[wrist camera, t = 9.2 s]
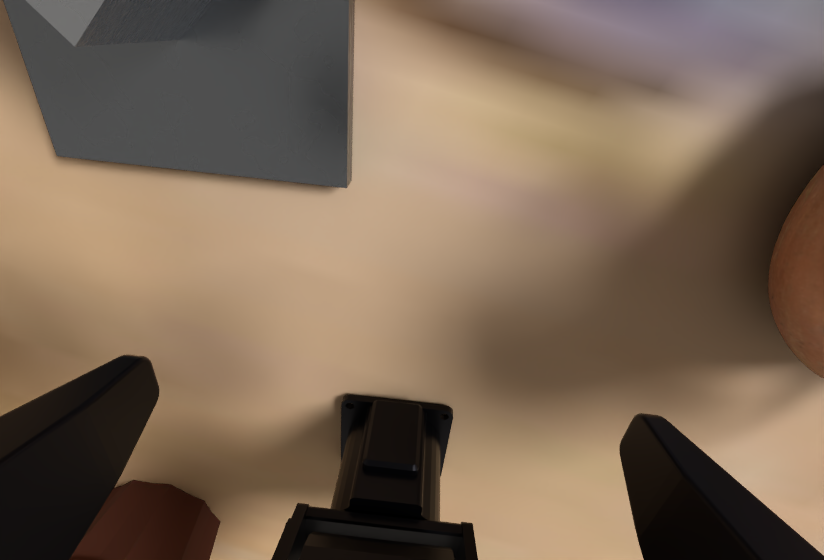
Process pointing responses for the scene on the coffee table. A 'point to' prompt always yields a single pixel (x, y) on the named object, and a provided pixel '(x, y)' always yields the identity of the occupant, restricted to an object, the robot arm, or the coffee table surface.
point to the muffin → (149, 526)
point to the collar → (119, 19)
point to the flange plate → (206, 91)
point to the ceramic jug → (801, 277)
